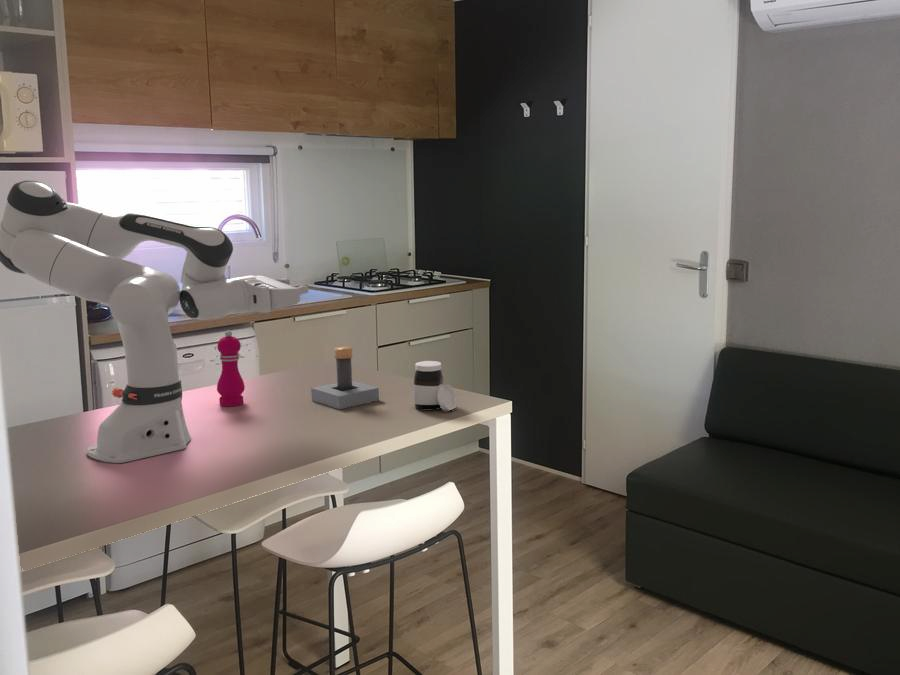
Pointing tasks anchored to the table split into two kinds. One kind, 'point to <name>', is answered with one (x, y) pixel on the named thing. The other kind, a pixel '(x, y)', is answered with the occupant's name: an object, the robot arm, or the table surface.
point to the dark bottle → (343, 367)
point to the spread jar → (432, 387)
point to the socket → (345, 395)
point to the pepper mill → (230, 372)
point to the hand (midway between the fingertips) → (297, 285)
